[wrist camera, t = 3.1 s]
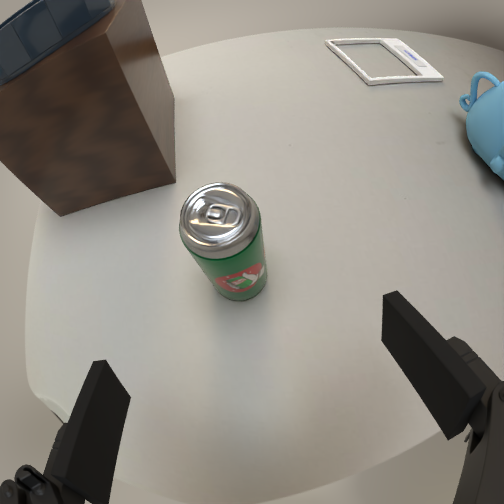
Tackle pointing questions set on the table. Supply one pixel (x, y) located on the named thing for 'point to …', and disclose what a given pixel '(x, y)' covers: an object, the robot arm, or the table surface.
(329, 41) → the photo frame
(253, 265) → the soda can
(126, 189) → the stand
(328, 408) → the table surface
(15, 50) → the bowl
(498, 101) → the decorative pot
